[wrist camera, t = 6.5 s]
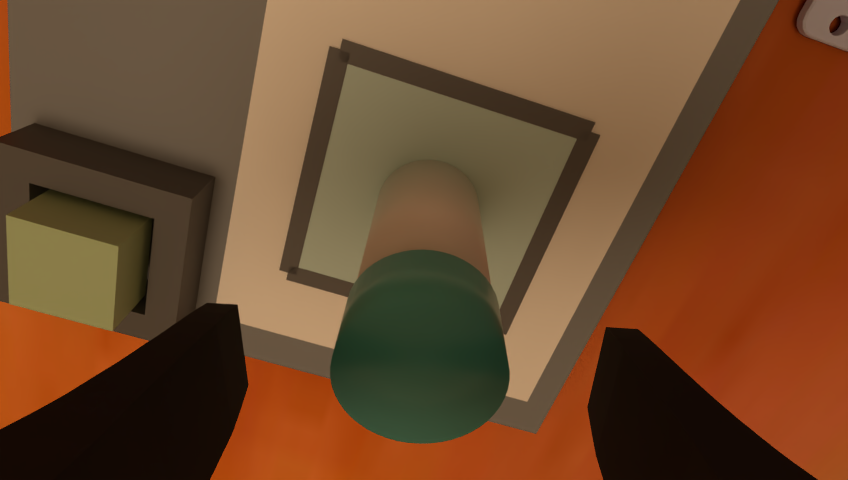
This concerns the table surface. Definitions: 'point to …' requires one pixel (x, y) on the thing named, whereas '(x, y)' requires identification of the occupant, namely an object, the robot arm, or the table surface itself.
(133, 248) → the button
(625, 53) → the colouring board
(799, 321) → the table surface
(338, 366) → the marker
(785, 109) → the table surface
